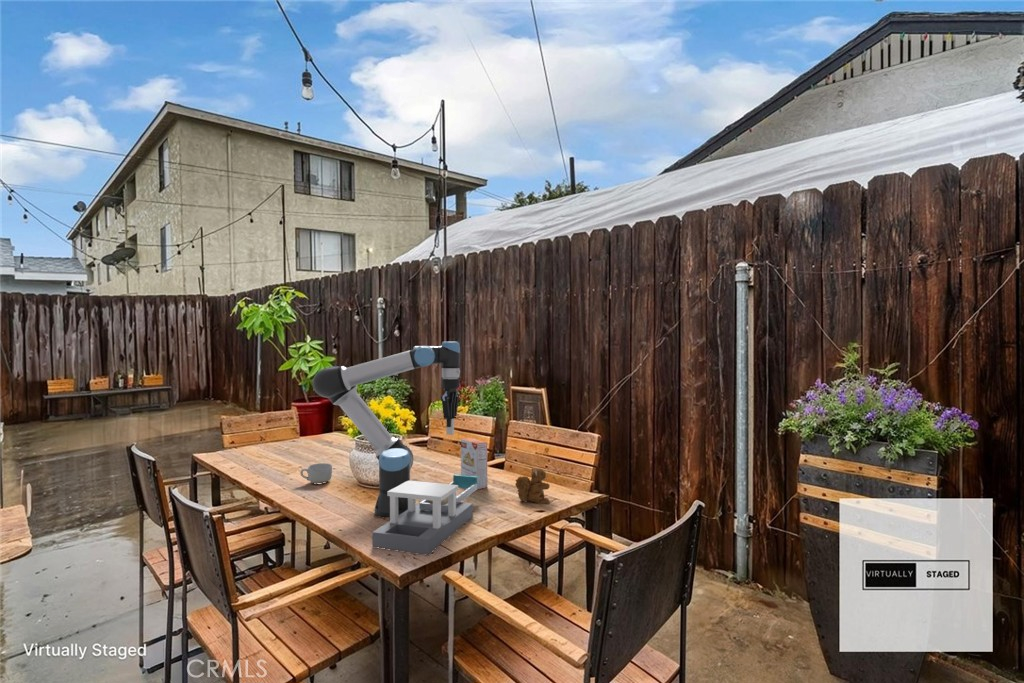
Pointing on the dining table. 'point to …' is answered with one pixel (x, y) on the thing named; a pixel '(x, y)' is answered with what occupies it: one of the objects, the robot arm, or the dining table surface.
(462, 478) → the sled
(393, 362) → the robot arm
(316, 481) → the teacup
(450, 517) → the tunnel track
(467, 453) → the cracker box
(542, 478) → the stuffed squirrel
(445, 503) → the beige rounded lump
